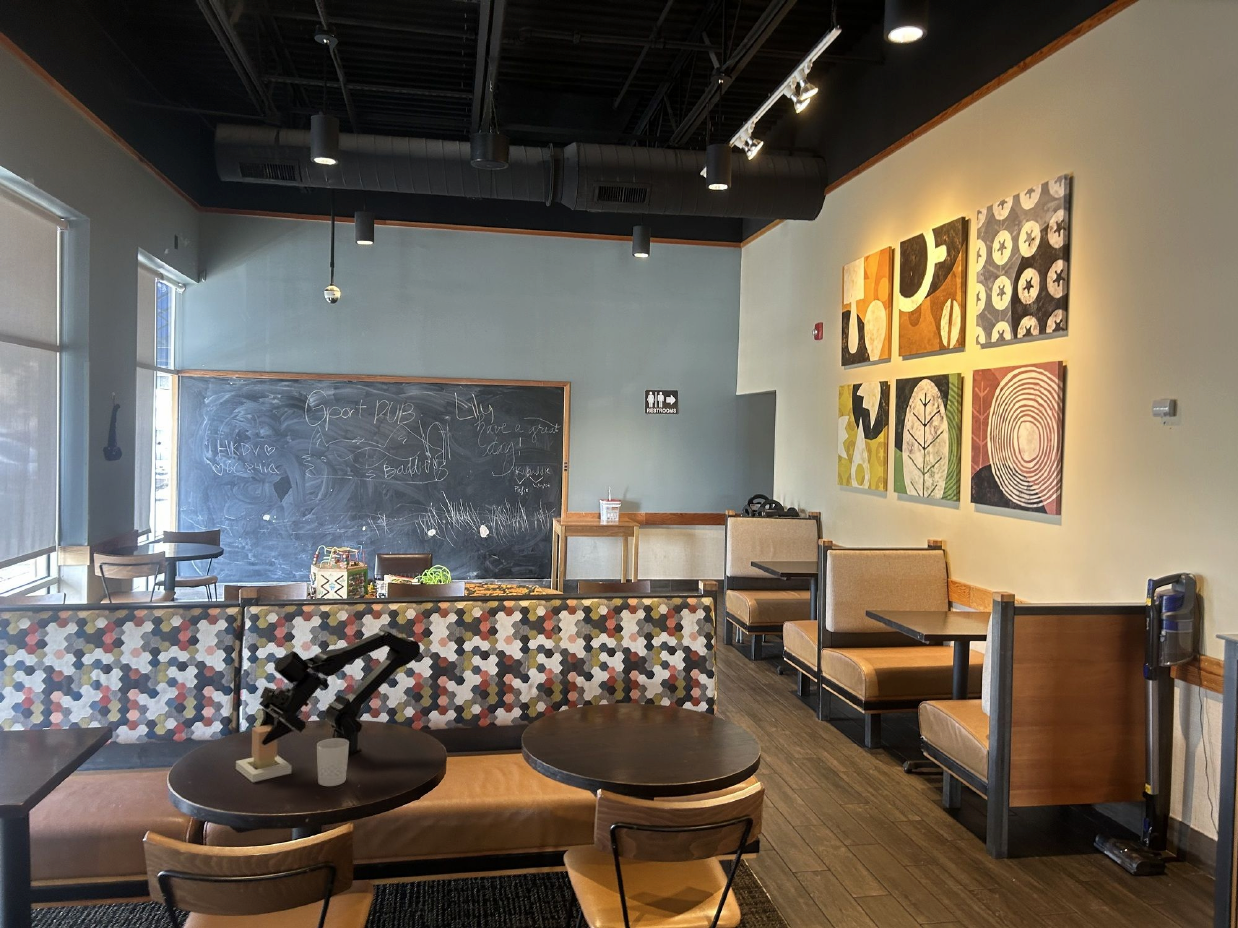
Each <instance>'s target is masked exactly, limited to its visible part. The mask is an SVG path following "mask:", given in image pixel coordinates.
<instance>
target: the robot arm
mask: <svg viewBox="0 0 1238 928" xmlns="http://www.w3.org/2000/svg"><path fill="white" fill-rule="evenodd" d="M384 647H387V648H389V649H388V652H387V654H386V656H385V658H384V659H383V660H382V661H381V662H380V664H378V665H377V667H375V668H374V669H373V670H372V671H371V672H370V673H369V674H368V675H367V676H366V677H364V680H362V682H360V684H358V685H357V686H356V687H355V689H353V690H352V692H350V693H349V694H347V695H345V696H344V695H342V694H338V695H337V696H336V697H335V698H334V700H333V701H332V702H330V703H328V704H327V705H328V707H327V708H326V710H325V720H326V722H328V723H329V724H330V726H331V728H332V729H333V732H332V733H333V734H332V738H342V739H346V740H348V741H349V749H348V757H349V756H350V755H353V754H355V753H357V752H360V751H362V747H358V745H359V743H358V741H359V733H360V732H361V730H362V727H363V724H362V723H361V722H360V721H359V720H357V718H358V716H359V715H360V712H361V709H362V707H363V705H364V704H365V703H366V702H367V701H368V700H369V699H370V698H371V697H372V696H373V695H374V694H375V693H376V692H377V691H378V690H379V689H380V688H381V687H382V685H384V684H385V683H386V681H387V680H388V679H389V678H390V677H391V676H393V674H394V673H395V672H397V670H398V669H400V668H402V667H405V666H407V665H410V664H411V663H412V662H413V661H415V660H416V659H417V658H418V657H419V655H420V654H421V645H420V643H419V642H418V641H416V640H413V639H411V638H409V637H405V636H397V635H395V634H393V633H392V632H391V631H388V630H385V629H380V630H378V631H377V632H376V633H373V634H370V635H368V636H366V637H364V638H361V639H359V640H357V641H354V642H353V643H350V644H348V645H345V646H343V647H339V648H333V649H327V650H324V651H323V650H322V651H319V652H318V653H316V654H315V655H313V656H312V657H309V658H305V659H303V658H302V657H301V656H300V655H299V654H298V652H296V651H294V650H291V651H290V652H289V653H288V654H284V655H283V656H282V657H281V658H279V659H278V660H277V662H276V663H275V665H274V671H275V672H276V673H277V674H279V675H280V676H281V677H282V678H283V679H285V681H287V682H288V683H289V684H292V683H294V684H293V685H292V686H291V687H290V688H289V687H286V688H285V689H281V688H277V689H276V688H272V687H269V686H264V688H263V690H262V693H261V695H260V696H259V698H260V700H261V701H260V702H259V703H258V704H259V706H260V707H262V708H261V711H262V720H261V722H260V725H259V726H264V725H269V724H271V725H272V726H273V727H272V728H271V730H270V731H269V732H268V734H267V735H266V737H265V738H264V740H263V741H262V744H263V745H266V744H268V743H270V742H272V741H274V740H276V739H277V740H278V739H280V738H282V737H284V736H286V735H288V734H290V733H294V732H295V731H296V732H298V733H300V734H301V733H302V732H303V731H304V730H305V728H306V726H307V725H306V723H307V722H306V721H304V719H302V717H300V716H299V715H298V714H299V712H300V711H301V709H303V707H304V706H305V707H308V706H309V705H310V703H309V702H308V701H309V700H310V699H311V698H312V697H313V695H314V694H315V693H316V692H317V690H319V688H320V687H321V688H323V689H324V690H328V689H329V684H328V681H329V679H328V678H326V677H333V676H335V674H338V673H339V672H341V671H342V670H344V668H345V667H346V666H347V665H348V664H349V663H351V662H353V661H355V660H357V659H360V658H362V657H364V656H366V655H368V654H370V653H373V652H375V651H377V650H379V649H381V648H384ZM309 670H310V671H312V673H310V672H309ZM318 674H321V675H323V676H325V677H321V676H320V675H318ZM294 729H295V730H294Z"/></svg>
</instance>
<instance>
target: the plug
mask: <svg viewBox="0 0 1238 928" xmlns="http://www.w3.org/2000/svg"><path fill="white" fill-rule="evenodd" d="M272 727H273V726H272V725H271V724H269V725H264V726H260V725H259V726H256V727H252V729H251V758H253V757H254V766H255V767H256V768H258V769H262V768H266V767H270V766H275V757H277V756H278V739H276V740H274V741H272V742H270V743H268V744H266V745H263V744H262V741H263V740H264V738H265V737H266V735H267V734H268V732H269V731H270V730H271V728H272Z"/></svg>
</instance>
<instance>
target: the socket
mask: <svg viewBox="0 0 1238 928" xmlns="http://www.w3.org/2000/svg"><path fill="white" fill-rule="evenodd" d="M235 769H236V770H237V771H238V772H240V773H241V774H242V775H243V776H245V778H247V779H248V780H249V781H251V782H252V783H256V782H259V781H264V780H268V779H272V778H276V777H280V776H285V775H289V774H292V764H291V763H289V762H287V761H286V760H284V759H283V758H281V757H280V756H279V755H277V757H275V766H270V767H266V768H262V769H258V768H256V767H255V766H254V757H249V758H248V757H247V758H243V759H241V760H240V759H239V760H235Z"/></svg>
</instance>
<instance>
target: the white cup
mask: <svg viewBox="0 0 1238 928" xmlns="http://www.w3.org/2000/svg"><path fill="white" fill-rule="evenodd" d="M348 749H349V741H348V740H346V739H342V738H333V737H331V738H326V739H325V738H324V739H322V740H320V741H319V742H317V744H316V760H317V761H316V765H317V783H318V785H320V786H324V787H335V786H339V785H341V784H343V783H345V782H346V780H347V779H346V778H347V771H348V770H347V769H348V761H349V759H348V758H349V756H348Z"/></svg>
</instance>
